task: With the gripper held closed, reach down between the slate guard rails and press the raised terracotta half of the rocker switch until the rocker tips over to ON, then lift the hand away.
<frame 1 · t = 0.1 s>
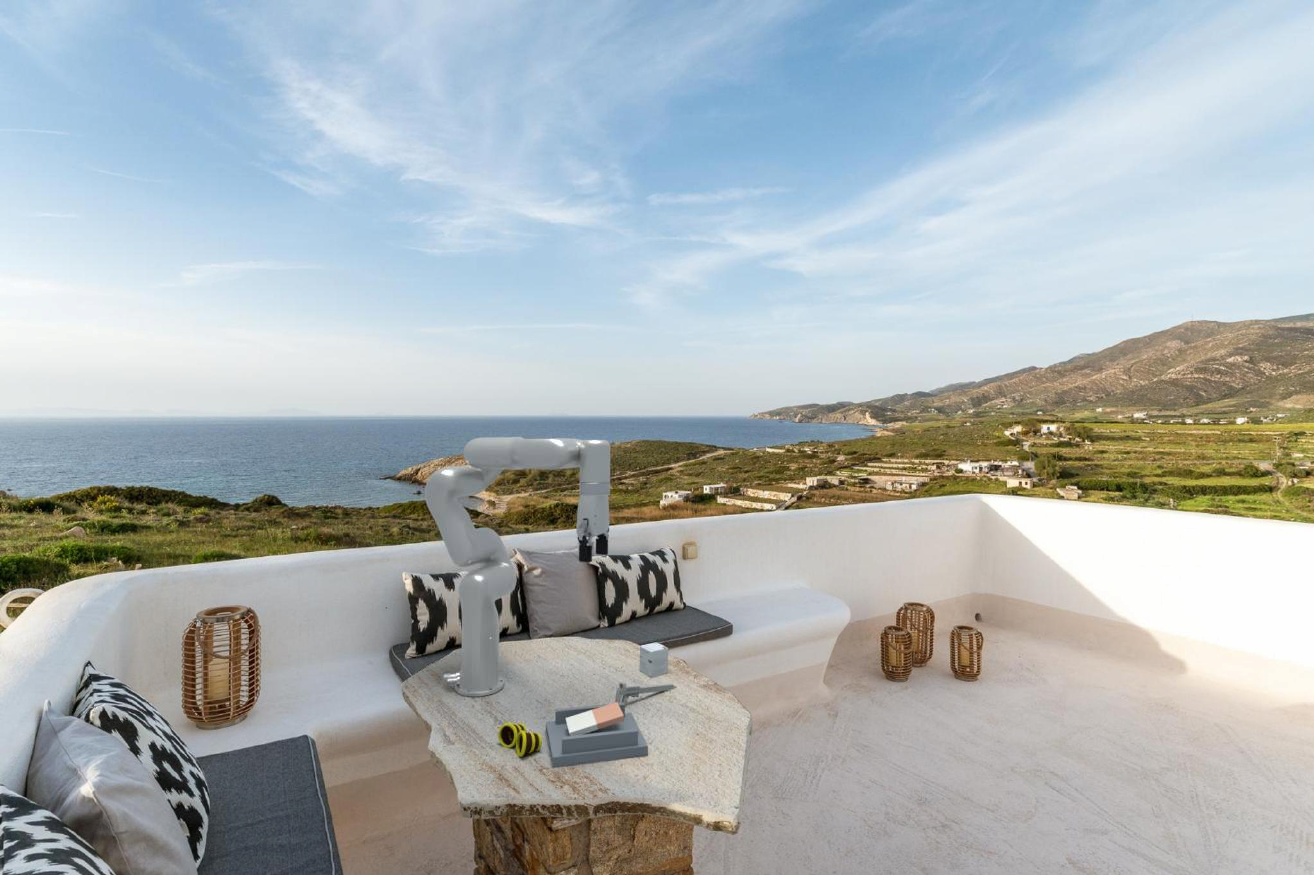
hand: (593, 558, 152), 37 cm above the table, tool pointing down, fingers open, 9 cm apart
caliper: (647, 699, 159), on the table
skincare box: (653, 672, 176), on the table
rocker: (594, 719, 135), point 5 cm above the table, hinge at -12.0°
opera glasses: (520, 749, 132), on the table
grey piece: (594, 742, 135), on the table
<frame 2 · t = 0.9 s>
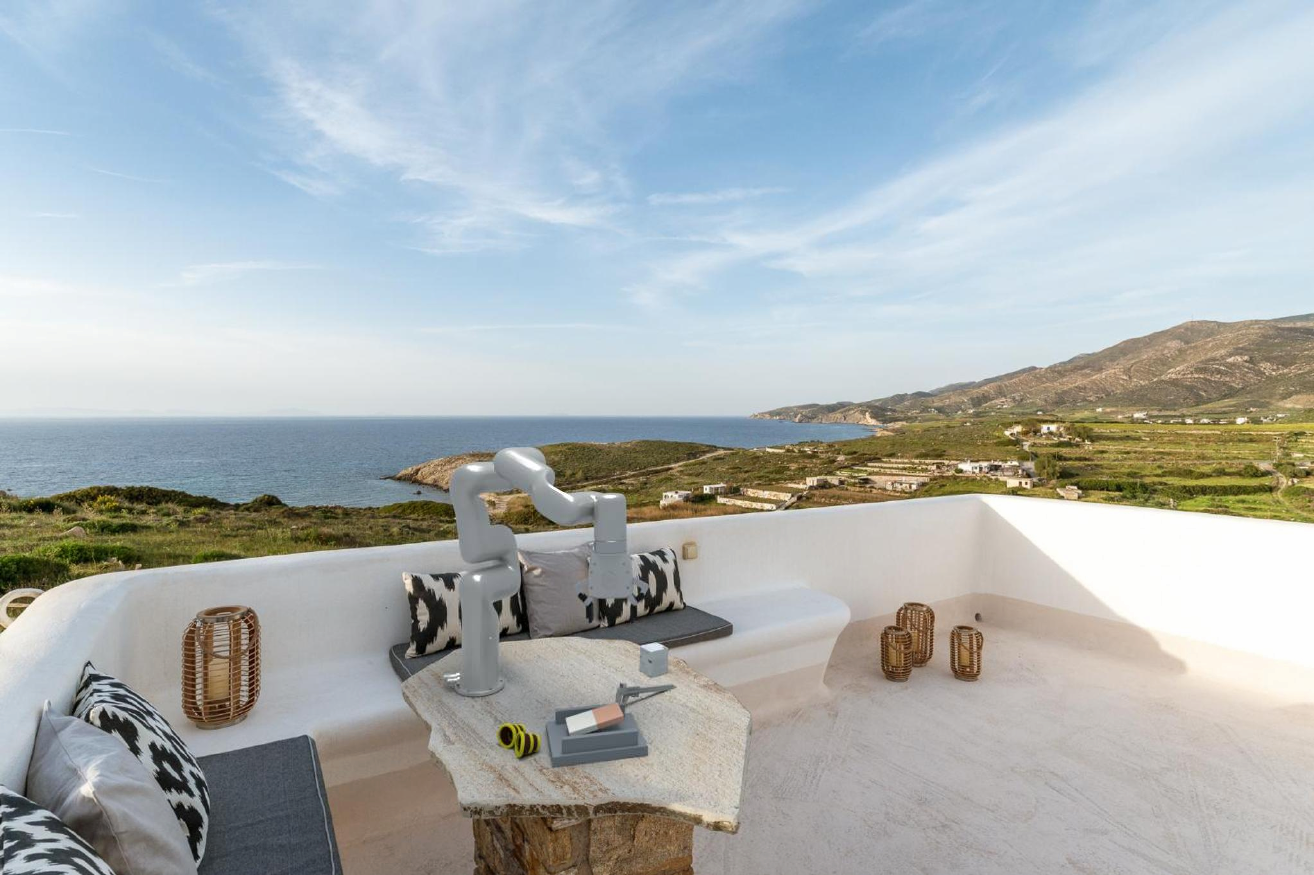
hand: (611, 621, 141), 25 cm above the table, tool pointing down, fingers open, 9 cm apart
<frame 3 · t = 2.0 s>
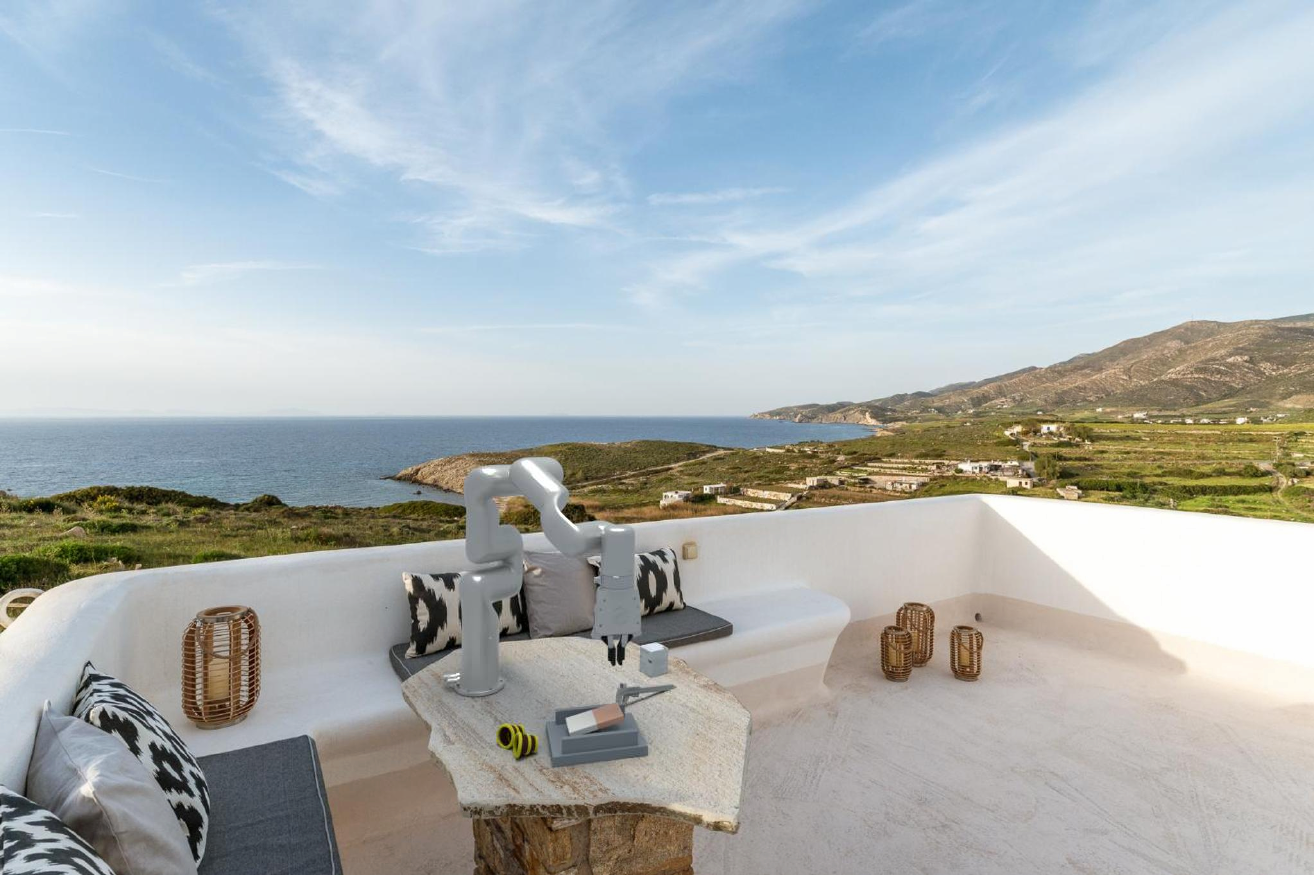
hand: (616, 663, 136), 17 cm above the table, tool pointing down, fingers closed
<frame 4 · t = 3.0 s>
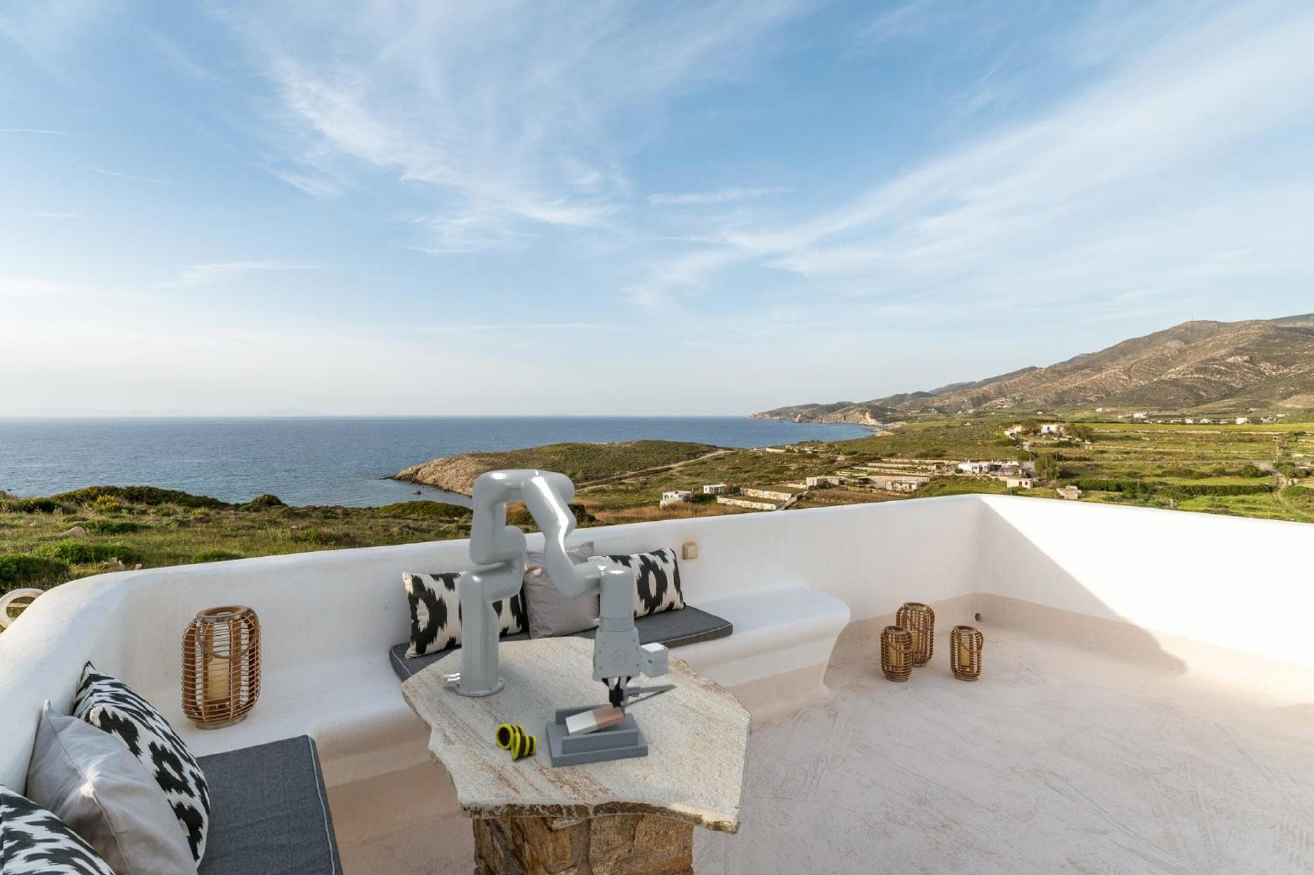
hand: (615, 704, 136), 8 cm above the table, tool pointing down, fingers closed
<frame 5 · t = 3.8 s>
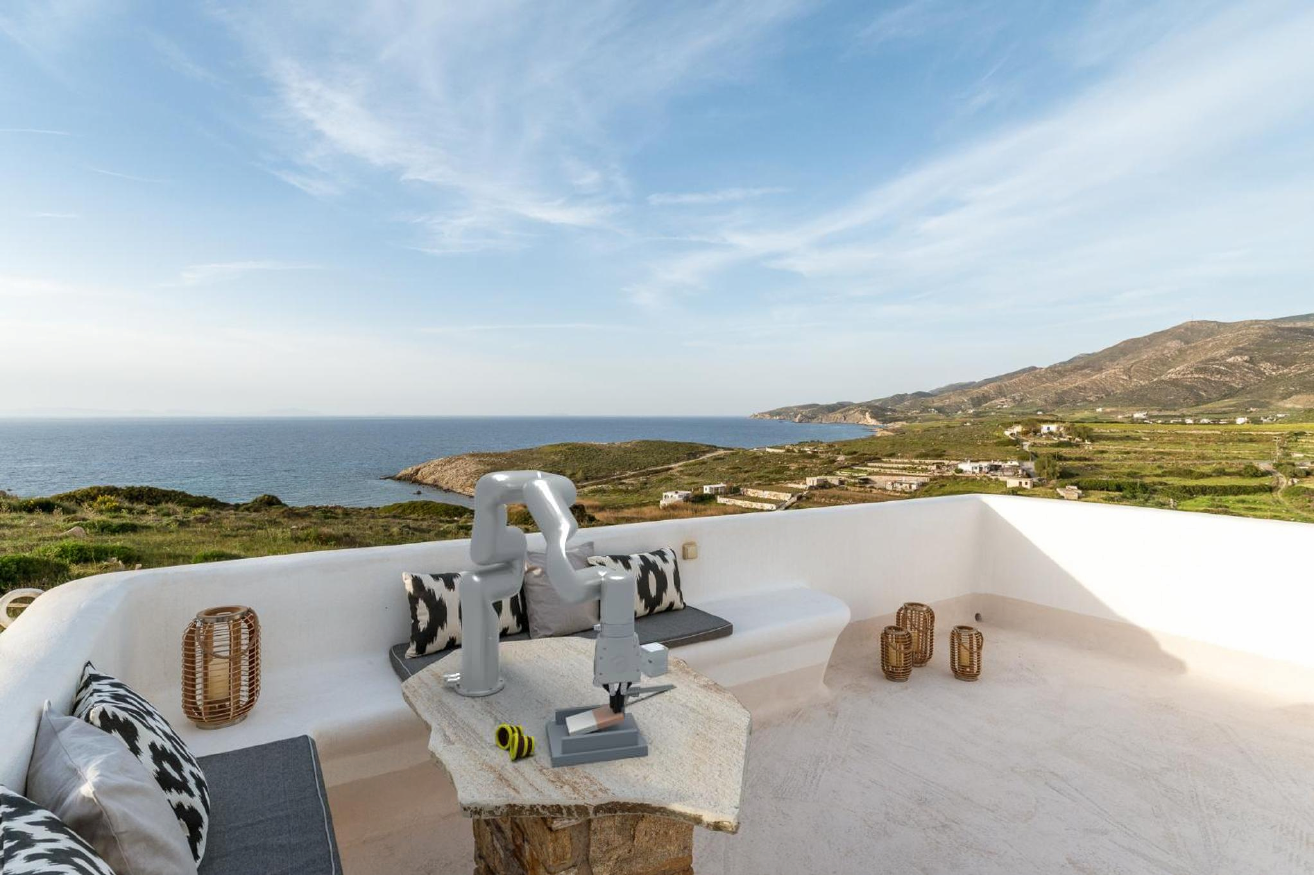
hand: (616, 710, 136), 7 cm above the table, tool pointing down, fingers closed
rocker: (594, 719, 135), point 5 cm above the table, hinge at -11.4°, touching gripper
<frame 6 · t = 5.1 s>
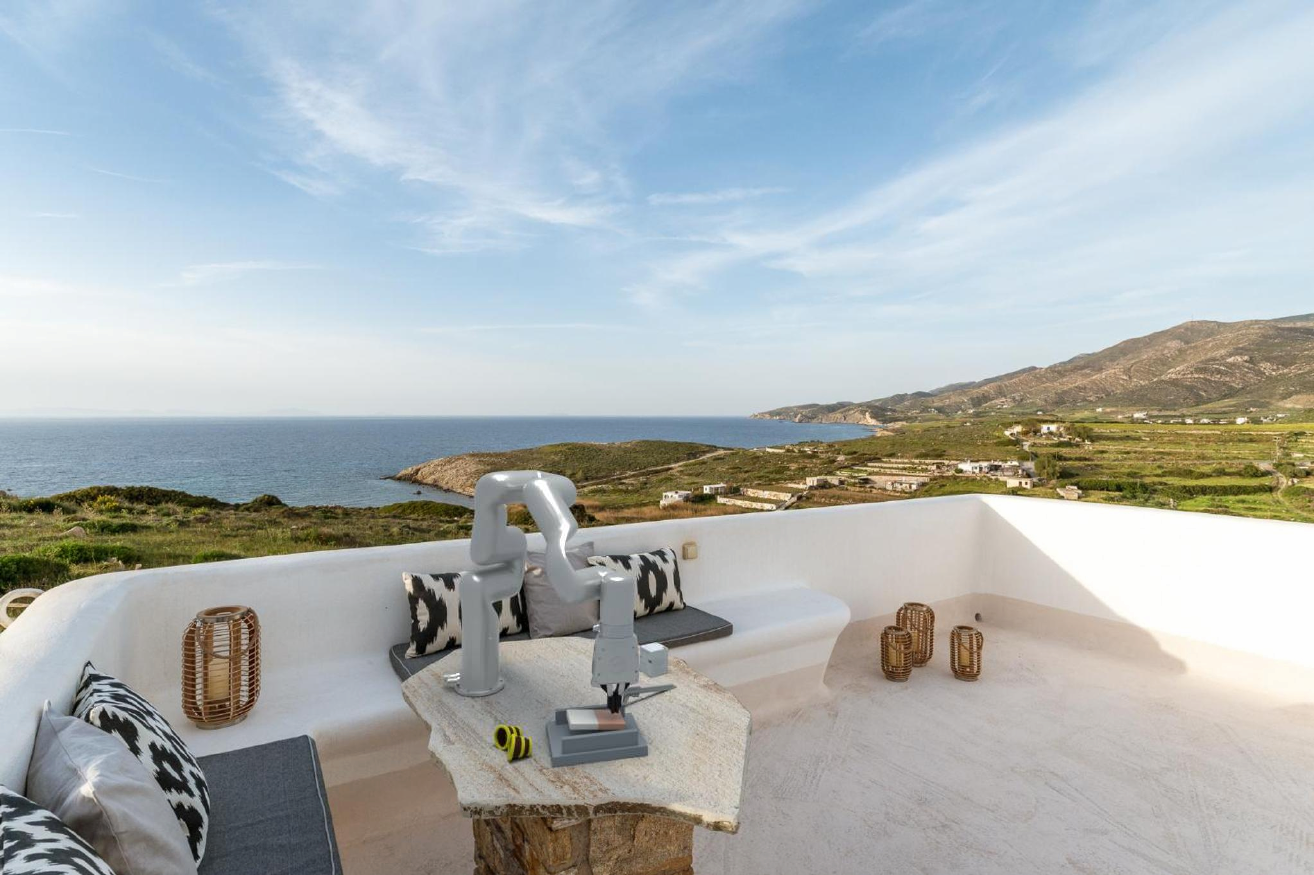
hand: (613, 710, 137), 6 cm above the table, tool pointing down, fingers closed
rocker: (595, 719, 135), point 5 cm above the table, hinge at 6.2°
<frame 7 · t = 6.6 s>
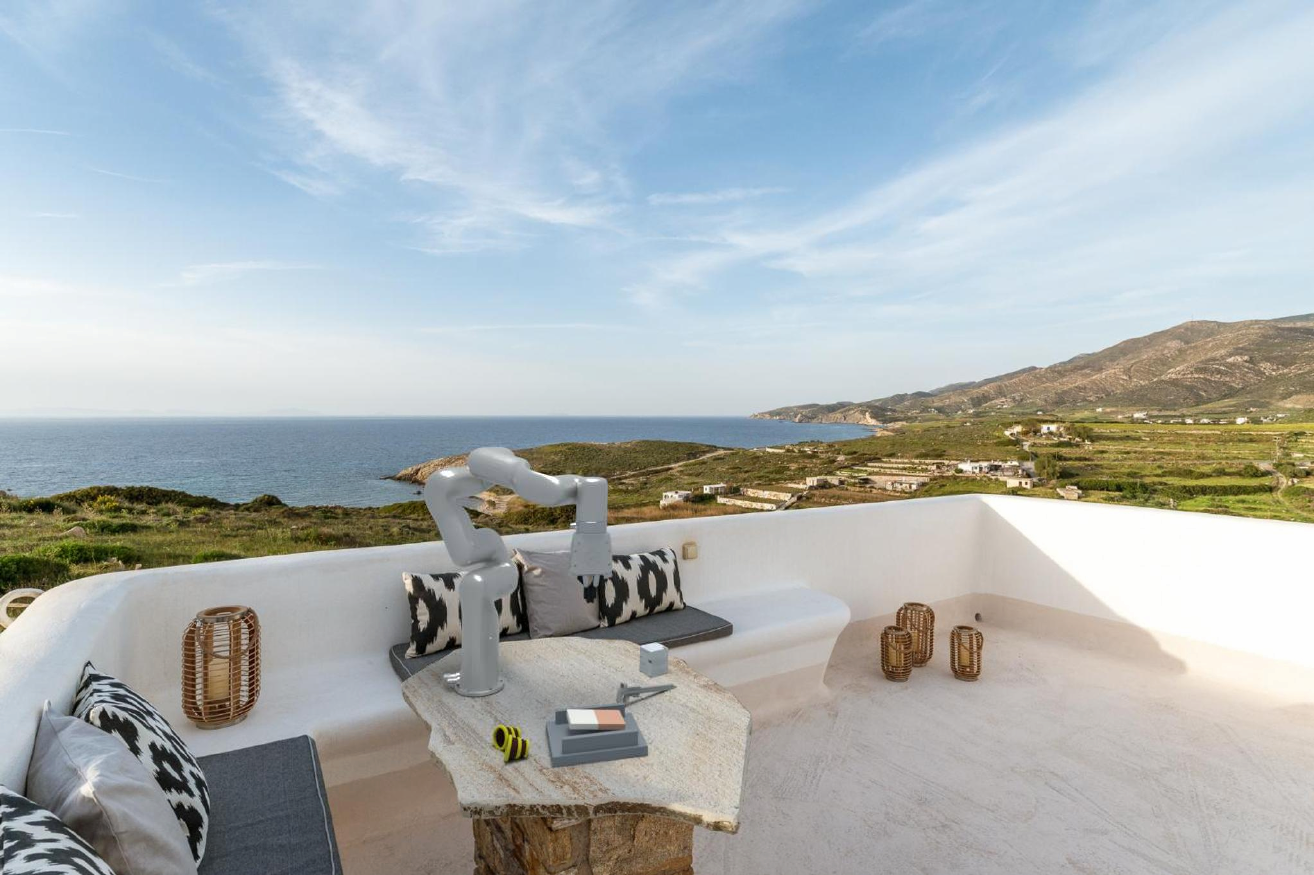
hand: (589, 601, 151), 27 cm above the table, tool pointing down, fingers closed
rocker: (595, 719, 135), point 5 cm above the table, hinge at 6.6°
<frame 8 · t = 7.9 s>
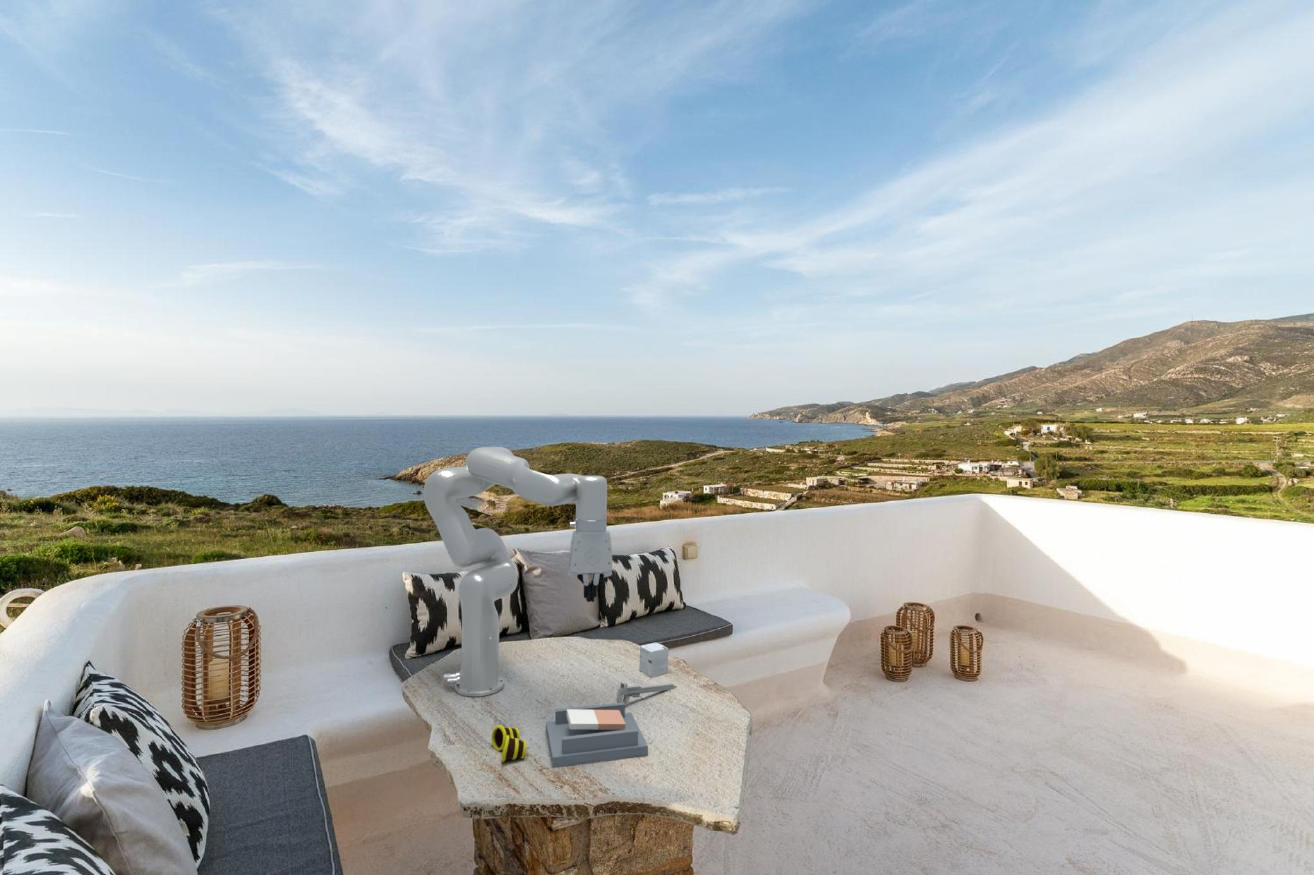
hand: (590, 600, 151), 27 cm above the table, tool pointing down, fingers closed
at the end: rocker at +7° (first picture: -12°) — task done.
